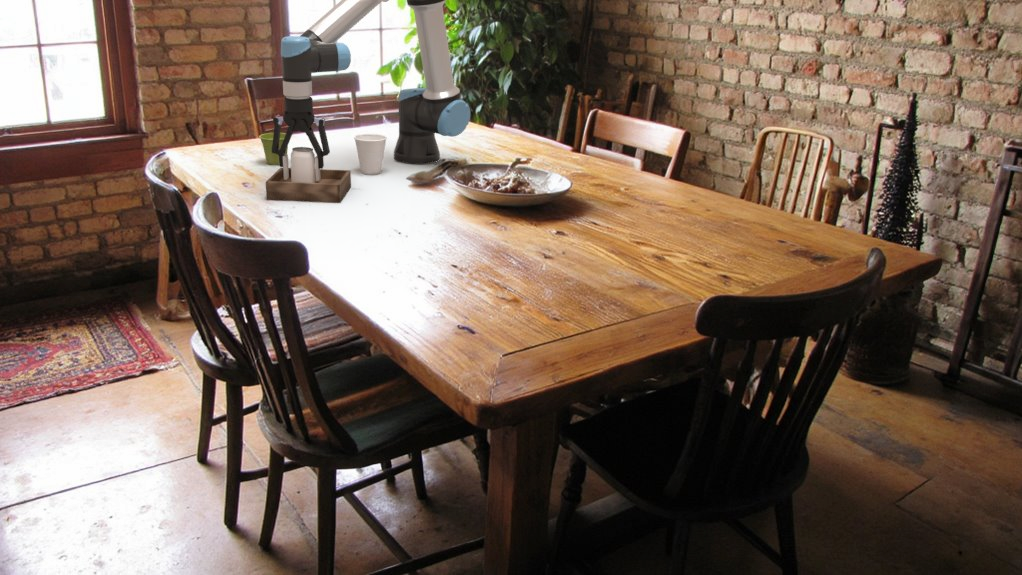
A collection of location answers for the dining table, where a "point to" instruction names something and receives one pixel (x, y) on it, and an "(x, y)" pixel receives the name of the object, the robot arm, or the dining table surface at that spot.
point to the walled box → (310, 187)
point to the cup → (370, 152)
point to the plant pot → (267, 145)
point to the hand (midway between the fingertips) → (302, 179)
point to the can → (302, 165)
